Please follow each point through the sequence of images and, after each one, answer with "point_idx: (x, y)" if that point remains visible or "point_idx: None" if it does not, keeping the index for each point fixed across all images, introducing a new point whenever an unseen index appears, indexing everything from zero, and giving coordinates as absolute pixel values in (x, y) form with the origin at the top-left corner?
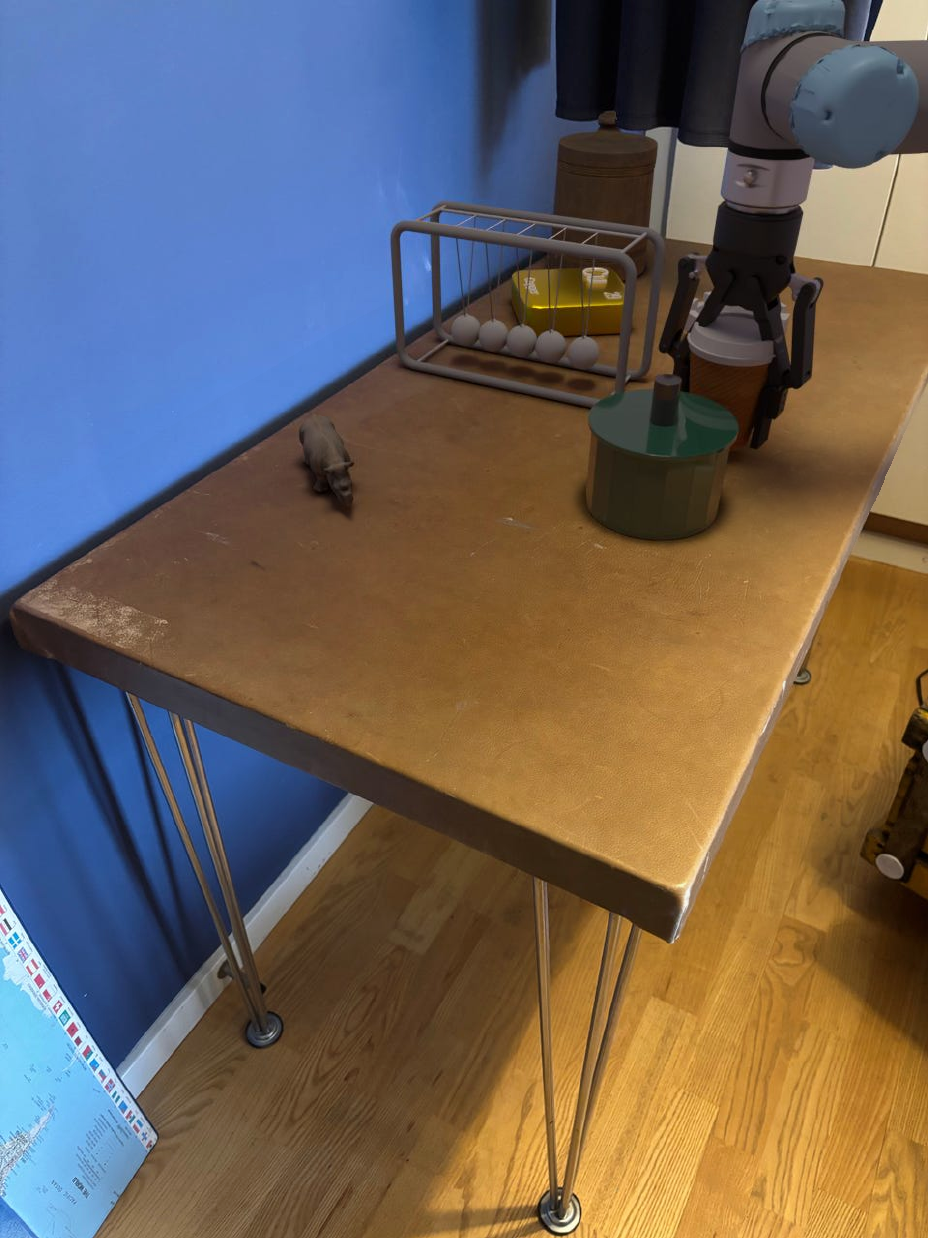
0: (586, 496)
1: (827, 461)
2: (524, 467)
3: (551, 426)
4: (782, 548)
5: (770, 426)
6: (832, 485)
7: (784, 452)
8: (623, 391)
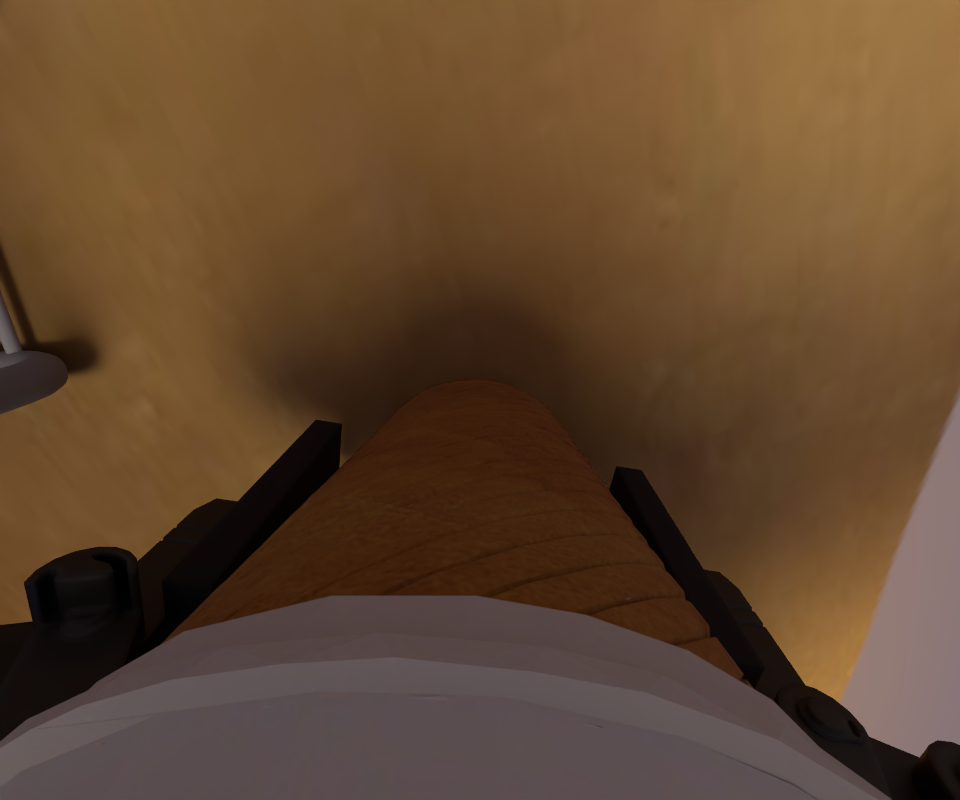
0: None
1: (823, 363)
2: None
3: (7, 528)
4: None
5: (658, 497)
6: (833, 495)
7: (679, 368)
8: (25, 395)
